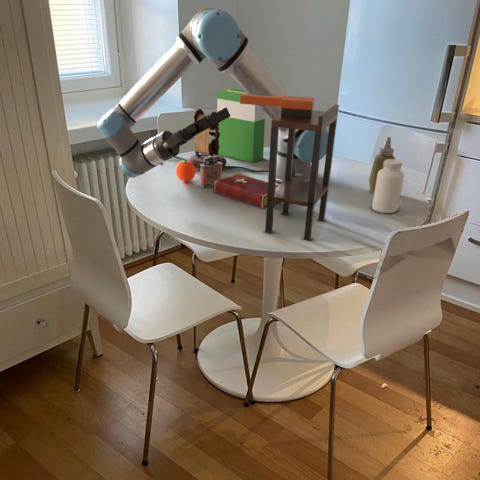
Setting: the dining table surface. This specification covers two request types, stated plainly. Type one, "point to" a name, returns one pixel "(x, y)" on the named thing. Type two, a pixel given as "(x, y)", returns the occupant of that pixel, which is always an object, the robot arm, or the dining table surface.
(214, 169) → the lighter
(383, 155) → the squeeze bottle
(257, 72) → the robot arm
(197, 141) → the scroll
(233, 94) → the green cereal box
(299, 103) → the brush
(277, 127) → the metal plant stand
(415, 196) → the dining table surface
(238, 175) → the hardcover book
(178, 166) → the clementine
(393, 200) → the pill bottle
